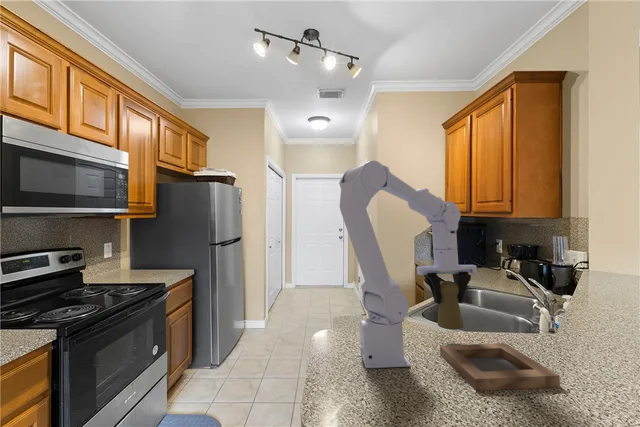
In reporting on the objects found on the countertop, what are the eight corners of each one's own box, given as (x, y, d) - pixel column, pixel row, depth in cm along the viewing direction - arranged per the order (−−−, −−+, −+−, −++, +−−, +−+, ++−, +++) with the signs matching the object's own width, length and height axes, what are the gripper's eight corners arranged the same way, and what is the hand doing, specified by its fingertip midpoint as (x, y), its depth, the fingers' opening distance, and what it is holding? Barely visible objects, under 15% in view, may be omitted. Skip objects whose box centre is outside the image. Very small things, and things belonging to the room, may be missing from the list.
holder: (476, 390, 51) (475, 379, 51) (440, 354, 66) (439, 345, 66) (560, 387, 51) (559, 375, 51) (505, 352, 66) (504, 343, 66)
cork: (467, 329, 70) (463, 283, 70) (441, 329, 71) (437, 284, 71) (459, 320, 76) (455, 278, 76) (435, 321, 77) (431, 279, 77)
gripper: (465, 247, 78) (468, 297, 77) (411, 248, 78) (414, 299, 77) (479, 248, 71) (483, 304, 70) (421, 250, 71) (424, 306, 70)
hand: (448, 302), depth 73 cm, fingers closed on cork, 5 cm apart
